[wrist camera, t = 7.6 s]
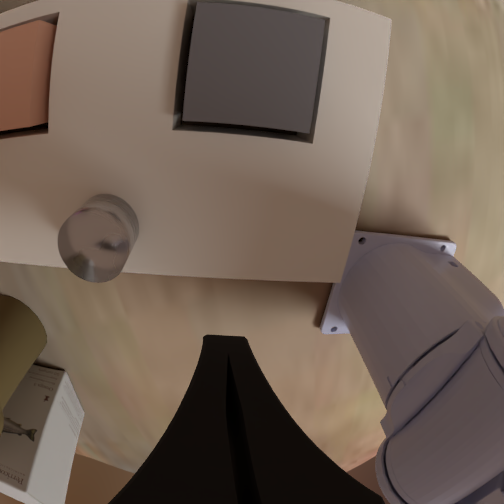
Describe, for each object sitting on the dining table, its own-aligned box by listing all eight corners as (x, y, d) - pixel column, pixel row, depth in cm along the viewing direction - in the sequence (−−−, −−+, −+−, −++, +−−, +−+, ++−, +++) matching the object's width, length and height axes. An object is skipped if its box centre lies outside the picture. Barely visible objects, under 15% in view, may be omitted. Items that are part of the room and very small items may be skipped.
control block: (364, 28, 13) (391, 19, 10) (324, 256, 19) (340, 282, 16) (-26, 40, 9) (-54, 39, 7) (-19, 236, 16) (-42, 256, 13)
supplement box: (67, 368, 22) (28, 495, 11) (86, 413, 25) (64, 519, 14) (4, 352, 21) (-44, 459, 10) (28, 398, 24) (-2, 493, 13)
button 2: (75, 32, 11) (39, 19, 8) (67, 117, 13) (29, 126, 10) (7, 48, 10) (-33, 45, 7) (2, 126, 13) (-39, 138, 9)
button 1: (300, 36, 13) (325, 19, 9) (288, 125, 15) (309, 133, 12) (202, 24, 12) (196, 2, 9) (191, 115, 14) (182, 120, 11)
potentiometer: (138, 194, 13) (124, 213, 11) (140, 257, 14) (129, 285, 12) (75, 193, 13) (52, 211, 10) (82, 253, 14) (64, 279, 12)
